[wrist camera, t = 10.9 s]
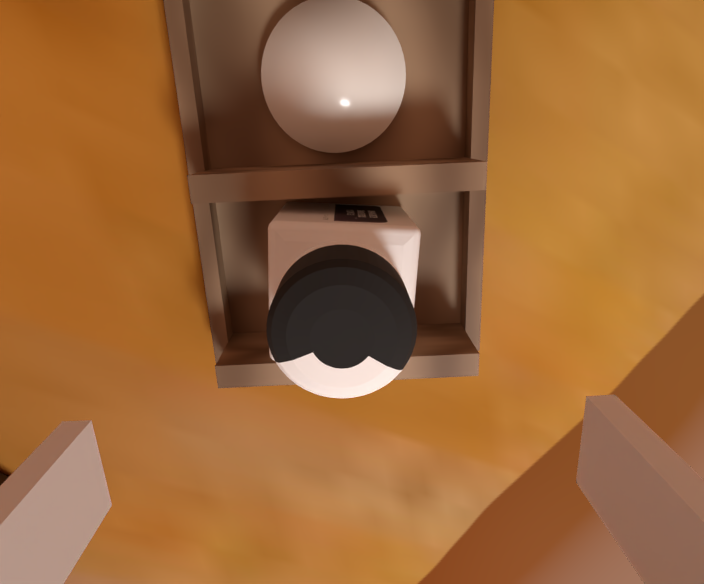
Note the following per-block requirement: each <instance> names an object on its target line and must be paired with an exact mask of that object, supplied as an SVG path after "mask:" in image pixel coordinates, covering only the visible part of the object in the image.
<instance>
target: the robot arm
mask: <svg viewBox="0 0 704 584" xmlns="http://www.w3.org/2000/svg"><path fill="white" fill-rule="evenodd" d="M576 483H577V484H578V486H579V487H580V489H581V490H582V492H583V493H584V495H585V496H586V497H587V499H588V501H589V502H590V504H591V505H592V506H593V508H594V510H595V511H596V513H597V514H598V515H599V517H600V518H601V520H602V521H603V523H604V524H605V526H606V527H607V529H608V530H609V532H610V533H611V535H612V536H613V538H614V539H615V541H616V542H617V544H618V545H619V547H620V548H621V550H622V551H623V553H624V554H625V556H626V557H627V559H628V560H629V562H630V563H631V565H632V566H633V568H634V569H635V571H636V572H637V574H638V575H639V576H640V578H641V579H642V581H643V582H644V584H704V479H703V478H702V477H701V476H699V475H698V474H697V473H696V472H695V471H694V470H693V469H692V468H691V467H690V466H689V465H688V464H687V463H686V462H685V461H684V460H683V459H682V458H681V457H680V456H679V455H678V454H676V453H675V452H674V451H673V450H672V449H671V448H670V447H669V446H668V445H667V444H666V443H665V442H664V441H663V440H662V439H661V438H660V437H659V436H658V435H657V434H656V433H654V432H653V431H652V430H651V429H650V428H649V427H648V426H647V425H646V424H645V423H644V422H643V421H642V420H641V419H640V418H639V417H638V416H637V415H636V414H635V413H634V412H633V411H632V410H630V409H629V408H628V407H627V406H626V405H625V404H624V403H623V402H622V401H621V400H620V399H619V398H618V397H617V396H616V395H602V396H586V404H585V413H584V421H583V429H582V438H581V445H580V454H579V462H578V470H577V479H576ZM111 506H112V504H111V499H110V495H109V491H108V487H107V483H106V479H105V475H104V470H103V466H102V462H101V458H100V454H99V450H98V446H97V441H96V437H95V433H94V429H93V425H92V421H91V420H88V421H67V422H62V423H61V424H60V425H59V426H58V427H57V428H56V429H55V430H54V431H53V432H52V433H51V434H50V435H49V436H48V437H47V438H46V439H45V440H44V441H43V442H42V443H41V444H40V445H39V446H38V447H37V448H36V449H35V451H34V452H33V453H32V454H31V455H30V456H29V457H28V458H27V459H26V460H25V461H24V462H23V463H22V464H21V465H20V466H19V467H18V468H17V469H16V470H15V471H14V472H13V473H12V474H11V475H10V476H9V477H8V476H6V475H4V474H2V473H0V584H64V582H65V581H66V579H67V577H68V576H69V574H70V572H71V571H72V569H73V568H74V566H75V564H76V563H77V561H78V559H79V558H80V556H81V555H82V553H83V551H84V550H85V548H86V546H87V545H88V543H89V542H90V540H91V538H92V537H93V535H94V533H95V532H96V530H97V529H98V527H99V525H100V524H101V522H102V520H103V519H104V517H105V516H106V514H107V512H108V511H109V509H110V507H111Z"/></svg>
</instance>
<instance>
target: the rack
mask: <svg viewBox="0 0 704 584" xmlns="http://www.w3.org/2000/svg"><path fill="white" fill-rule="evenodd" d="M163 1H164V8H165V14H166V21H167V28H168V35H169V42H170V49H171V56H172V63H173V70H174V77H175V84H176V90H177V97H178V104H179V111H180V118H181V125H182V132H183V139H184V146H185V153H186V159H187V166H188V173H189V175H187V177H188V184H189V191H190V198H191V204H193V208H194V215H195V222H196V229H197V235H198V242H199V249H200V256H201V263H202V270H203V277H204V284H205V291H206V298H207V304H208V311H209V318H210V325H211V332H212V339H213V346H214V353H215V360H216V365H215V369H216V376H217V383H218V388H232V387H253V386H274V385H295V383H294V382H293V381H292V380H290V379H289V378H288V377H287V376H286V375H285V374H284V373H283V372H282V371H281V369H280V368H279V366H278V365H277V363H276V362H275V361H274V360H272V359H271V358H270V354H269V345H268V340H267V333H266V324H267V317H268V312H269V283H268V226H269V224H270V222H271V221H272V220H273V219H274V217H275V216H276V215H277V214H278V212H279V211H280V210H281V209H282V207H283V206H284V205H285V204H286V203H287V202H307V203H331V204H355V205H379V206H399V207H402V208H403V209H404V211H405V212H406V213H407V215H408V216H409V217H410V218H411V220H412V221H413V222H414V223H415V225H416V226H417V227H418V228H419V230H420V233H421V236H420V247H419V259H418V270H417V281H416V292H415V304H414V311H415V314H416V320H417V337H416V343H415V346H414V349H413V352H412V355H411V357H410V359H409V361H408V363H407V364H406V365H405V367H404V368H403V370H402V371H401V372H400V373H399V374H398V375H397V376H396V377H395V378H394V379H393V380H399V379H420V378H440V377H461V376H478V372H479V352H478V351H479V348H480V324H481V300H482V276H483V252H484V228H485V204H486V181H487V156H488V132H489V108H490V84H491V60H492V36H493V12H494V0H359V1H361V2H363V3H365V4H367V5H368V6H370V7H371V8H373V9H374V10H375V11H377V12H378V13H379V14H380V15H381V16H382V17H383V18H384V19H385V20H386V21H387V23H388V24H389V25H390V26H391V28H392V29H393V31H394V33H395V34H396V36H397V38H398V41H399V43H400V45H401V48H402V52H403V55H404V60H405V67H406V83H405V90H404V95H403V99H402V102H401V105H400V107H399V110H398V112H397V114H396V116H395V117H394V119H393V121H392V122H391V123H390V125H389V126H388V127H387V128H386V130H385V131H384V132H383V133H382V134H381V135H380V136H379V137H377V138H376V139H375V140H373V141H372V142H370V143H368V144H367V145H365V146H363V147H361V148H358V149H355V150H352V151H348V152H341V153H327V152H321V151H317V150H314V149H310V148H308V147H306V146H304V145H302V144H300V143H299V142H297V141H295V140H294V139H293V138H291V137H290V136H289V135H288V134H287V133H286V132H285V131H284V130H283V129H282V128H281V127H280V126H279V125H278V123H277V122H276V120H275V119H274V117H273V116H272V114H271V112H270V110H269V108H268V105H267V103H266V100H265V97H264V93H263V89H262V82H261V65H262V57H263V53H264V49H265V46H266V43H267V40H268V38H269V36H270V34H271V32H272V30H273V29H274V28H275V26H276V25H277V23H278V22H279V21H280V20H281V19H282V17H283V16H284V15H285V14H286V13H288V12H289V11H290V10H291V9H292V8H294V7H295V6H297V5H299V4H300V3H302V2H304V1H307V0H163Z"/></svg>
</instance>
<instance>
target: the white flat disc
mask: <svg viewBox="0 0 704 584" xmlns="http://www.w3.org/2000/svg"><path fill="white" fill-rule="evenodd" d="M261 82H262V89H263V93H264V97H265V100H266V103H267V105H268V108H269V110H270V112H271V114H272V116H273V117H274V119H275V120H276V122H277V123H278V125H279V126H280V127H281V128H282V129H283V130H284V131H285V132H286V133H287V134H288V135H289V136H290V137H291V138H293V139H294V140H295V141H297V142H299V143H300V144H302V145H304V146H306V147H308V148H310V149H314V150H317V151H321V152H327V153H341V152H348V151H352V150H355V149H358V148H361V147H363V146H365V145H367V144H368V143H370V142H372V141H373V140H375V139H376V138H377V137H379V136H380V135H381V134H382V133H383V132H384V131H385V130H386V128H387V127H388V126H389V125H390V123H391V122H392V121H393V119H394V117H395V116H396V114H397V112H398V110H399V107H400V105H401V102H402V99H403V95H404V90H405V83H406V67H405V60H404V55H403V52H402V48H401V45H400V43H399V41H398V38H397V36H396V34H395V33H394V31H393V29H392V28H391V26H390V25H389V24H388V23H387V21H386V20H385V19H384V18H383V17H382V16H381V15H380V14H379V13H378V12H377V11H375V10H374V9H373V8H371V7H370V6H368V5H367V4H365V3H363V2H361V1H359V0H307V1H304V2H302V3H300V4H299V5H297V6H295V7H294V8H292V9H291V10H290V11H289V12H288V13H286V14H285V15H284V16H283V17H282V19H281V20H280V21H279V22H278V23H277V25H276V26H275V28H274V29H273V30H272V32H271V34H270V36H269V38H268V40H267V43H266V46H265V49H264V53H263V57H262V65H261Z"/></svg>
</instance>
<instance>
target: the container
mask: <svg viewBox="0 0 704 584" xmlns="http://www.w3.org/2000/svg"><path fill="white" fill-rule="evenodd" d="M420 236H421V233H420V230H419V228H418V227H417V226H416V225H415V223H414V222H413V221H412V220H411V218H410V217H409V216H408V215H407V213H406V212H405V211H404V209H403V208H402V207H399V206H379V205H355V204H331V203H307V202H287V203H286V204H285V205H284V206H283V207H282V209H281V210H280V211H279V212H278V214H277V215H276V216H275V217H274V219H273V220H272V221H271V222H270V224H269V226H268V283H269V312H268V317H267V324H266V333H267V340H268V345H269V354H270V358H271V359H272V360H274V361H275V362H276V363H277V365H278V366H279V368H280V369H281V371H282V372H283V373H284V374H285V375H286V376H287V377H288V378H289V379H290V380H292V381H293V382H294V383H295V384H297V385H298V386H300V387H302V388H303V389H305V390H307V391H309V392H312V393H314V394H318V395H321V396H325V397H331V398H353V397H358V396H363V395H366V394H369V393H372V392H374V391H376V390H378V389H380V388H382V387H383V386H385V385H386V384H388V383H389V382H391V381H392V380H393V379H394V378H395V377H396V376H397V375H398V374H399V373H400V372H401V371H402V370H403V368H404V367H405V365H406V364H407V363H408V361H409V359H410V357H411V355H412V352H413V349H414V346H415V343H416V337H417V320H416V314H415V311H414V304H415V292H416V281H417V270H418V259H419V247H420Z"/></svg>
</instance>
